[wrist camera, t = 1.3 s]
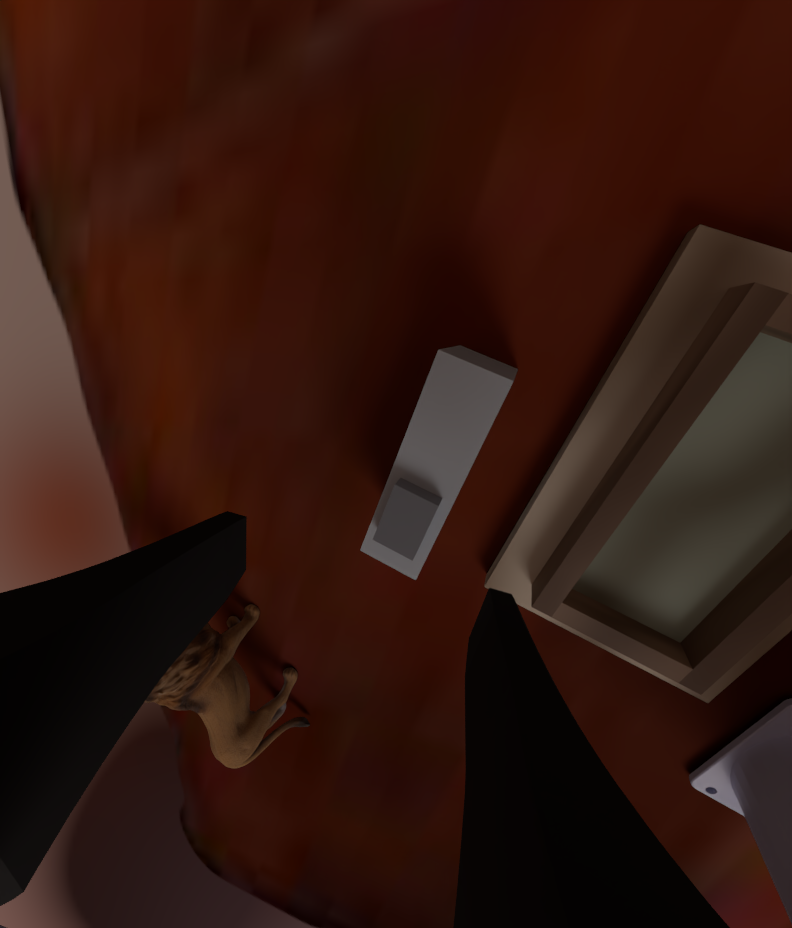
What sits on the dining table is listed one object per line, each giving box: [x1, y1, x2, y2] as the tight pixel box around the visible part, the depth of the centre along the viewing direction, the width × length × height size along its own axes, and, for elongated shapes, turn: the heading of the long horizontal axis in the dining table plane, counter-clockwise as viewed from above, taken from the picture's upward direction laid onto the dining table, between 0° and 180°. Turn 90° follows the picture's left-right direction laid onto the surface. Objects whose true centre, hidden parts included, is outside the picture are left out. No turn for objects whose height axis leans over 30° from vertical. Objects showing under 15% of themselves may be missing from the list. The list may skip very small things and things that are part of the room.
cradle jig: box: [484, 224, 792, 703], centre depth 16 cm, size 12×18×3 cm, turn 160°
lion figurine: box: [144, 604, 310, 768], centre depth 27 cm, size 15×5×9 cm, turn 35°
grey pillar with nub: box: [360, 345, 518, 580], centre depth 18 cm, size 3×10×6 cm, turn 160°
